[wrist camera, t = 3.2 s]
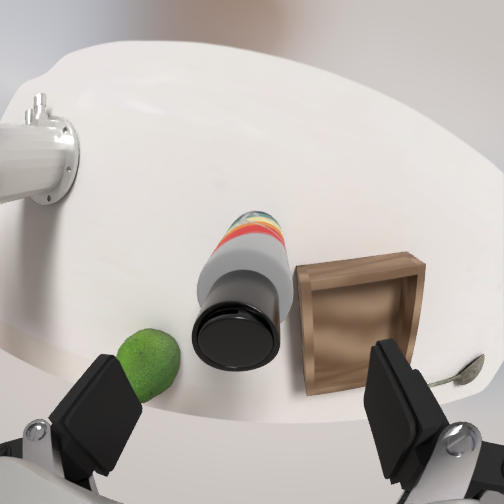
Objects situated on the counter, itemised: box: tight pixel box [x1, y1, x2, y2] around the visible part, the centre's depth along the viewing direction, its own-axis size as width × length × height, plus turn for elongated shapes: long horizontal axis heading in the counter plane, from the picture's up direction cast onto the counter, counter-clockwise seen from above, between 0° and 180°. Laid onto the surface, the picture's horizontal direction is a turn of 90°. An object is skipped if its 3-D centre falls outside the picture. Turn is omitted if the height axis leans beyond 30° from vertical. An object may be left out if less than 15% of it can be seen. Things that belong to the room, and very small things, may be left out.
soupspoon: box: [428, 354, 484, 387], centre depth 34 cm, size 22×3×7 cm
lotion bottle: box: [192, 211, 293, 372], centre depth 20 cm, size 6×6×20 cm
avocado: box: [116, 329, 180, 403], centre depth 29 cm, size 8×8×12 cm
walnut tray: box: [296, 252, 426, 396], centre depth 30 cm, size 16×14×5 cm
